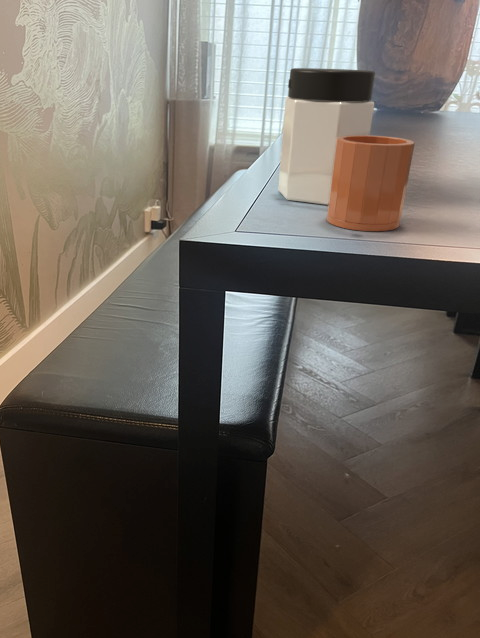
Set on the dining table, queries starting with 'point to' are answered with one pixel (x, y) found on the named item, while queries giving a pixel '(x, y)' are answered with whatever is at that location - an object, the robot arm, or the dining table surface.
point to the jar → (320, 127)
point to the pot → (369, 182)
